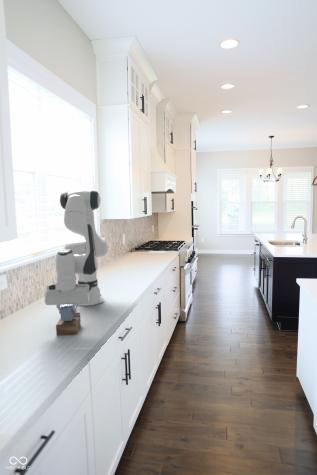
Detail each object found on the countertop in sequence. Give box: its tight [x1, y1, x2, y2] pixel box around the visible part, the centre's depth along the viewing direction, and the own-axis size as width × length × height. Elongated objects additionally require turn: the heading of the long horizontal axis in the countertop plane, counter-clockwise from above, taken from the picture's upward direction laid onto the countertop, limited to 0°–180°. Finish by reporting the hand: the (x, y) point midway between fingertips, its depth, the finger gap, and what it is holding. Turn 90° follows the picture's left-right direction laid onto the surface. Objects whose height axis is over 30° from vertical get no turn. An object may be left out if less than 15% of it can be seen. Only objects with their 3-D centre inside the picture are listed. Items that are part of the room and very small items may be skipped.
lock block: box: [60, 304, 76, 321], centre depth 158 cm, size 8×5×6 cm, turn 3°
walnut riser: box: [55, 311, 82, 336], centre depth 160 cm, size 12×9×7 cm
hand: (67, 313), depth 158 cm, fingers closed on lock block, 5 cm apart
